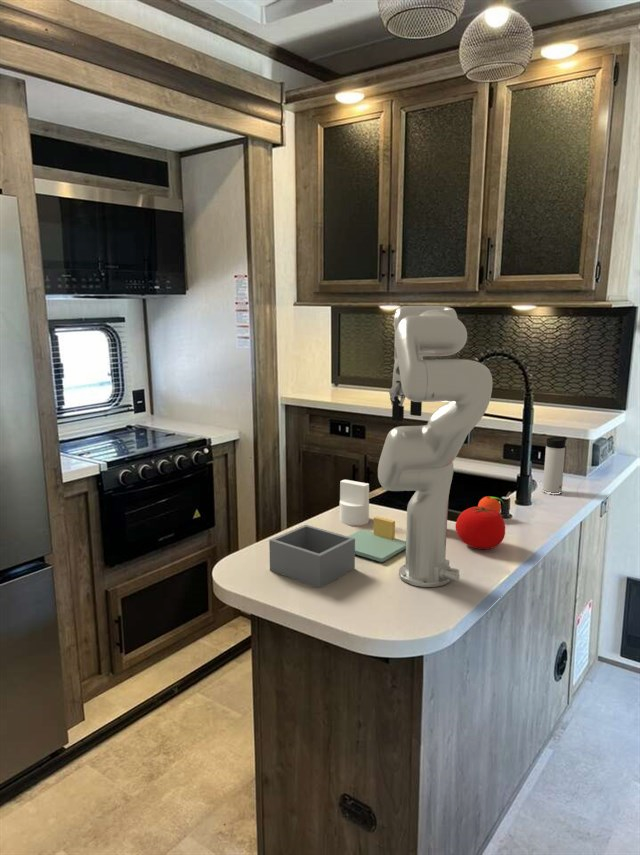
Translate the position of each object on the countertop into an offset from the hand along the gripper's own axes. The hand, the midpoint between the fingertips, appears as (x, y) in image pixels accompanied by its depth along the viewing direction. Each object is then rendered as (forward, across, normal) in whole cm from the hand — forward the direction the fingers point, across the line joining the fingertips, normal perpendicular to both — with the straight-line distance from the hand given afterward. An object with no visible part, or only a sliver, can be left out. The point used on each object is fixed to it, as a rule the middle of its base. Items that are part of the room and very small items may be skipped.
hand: (406, 417), depth 167 cm
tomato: (+35, +10, -18) cm, 41 cm away
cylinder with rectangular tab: (+35, +6, +21) cm, 41 cm away
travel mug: (+35, +72, -19) cm, 82 cm away
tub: (+35, -31, +9) cm, 47 cm away
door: (+36, -10, +4) cm, 37 cm away
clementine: (+35, +33, -12) cm, 50 cm away
